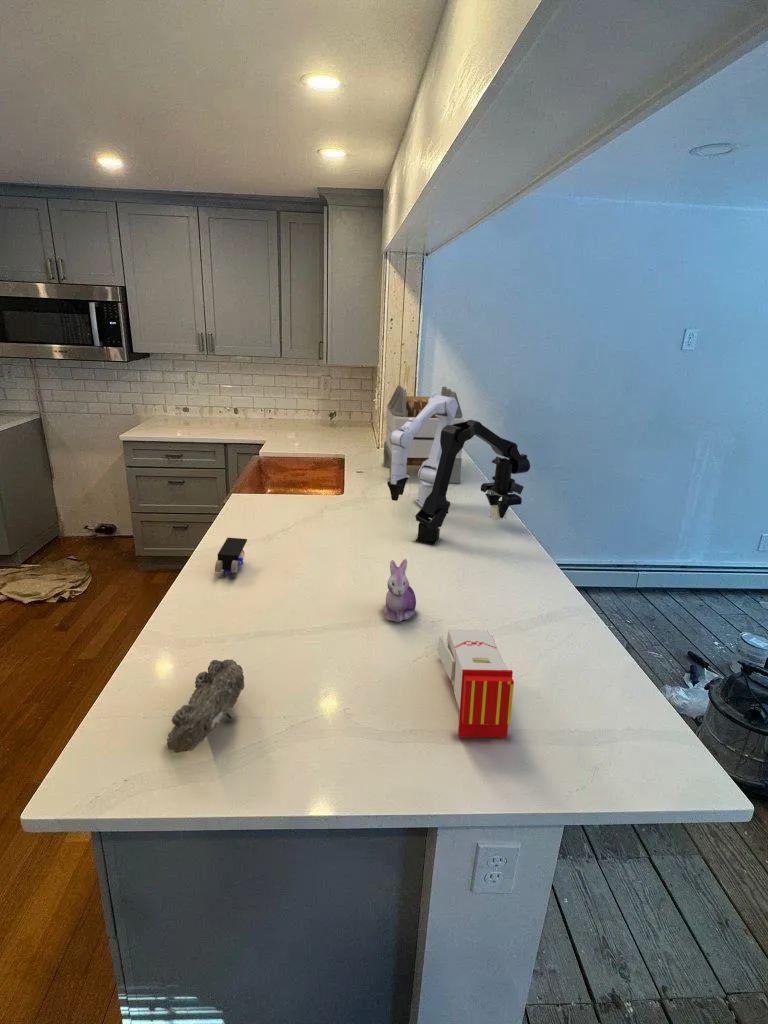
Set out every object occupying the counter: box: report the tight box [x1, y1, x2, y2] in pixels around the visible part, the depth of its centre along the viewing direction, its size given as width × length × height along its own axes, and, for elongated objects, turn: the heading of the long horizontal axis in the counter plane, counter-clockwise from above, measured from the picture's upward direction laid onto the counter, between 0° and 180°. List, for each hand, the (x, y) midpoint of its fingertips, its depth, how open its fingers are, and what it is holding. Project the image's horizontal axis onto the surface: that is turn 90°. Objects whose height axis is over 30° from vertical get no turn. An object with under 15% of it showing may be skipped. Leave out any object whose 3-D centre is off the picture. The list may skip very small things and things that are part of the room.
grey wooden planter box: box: [383, 384, 466, 484], centre depth 268 cm, size 34×33×41 cm
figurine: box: [384, 558, 417, 623], centre depth 145 cm, size 9×10×15 cm
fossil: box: [166, 658, 245, 754], centre depth 106 cm, size 22×10×15 cm
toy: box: [437, 628, 515, 738], centre depth 117 cm, size 12×13×30 cm
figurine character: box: [214, 537, 248, 578], centre depth 166 cm, size 7×8×15 cm
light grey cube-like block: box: [488, 505, 509, 522], centre depth 209 cm, size 4×5×4 cm
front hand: (497, 515), depth 210 cm, fingers closed on light grey cube-like block, 4 cm apart
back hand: (397, 497), depth 216 cm, fingers open, 7 cm apart
